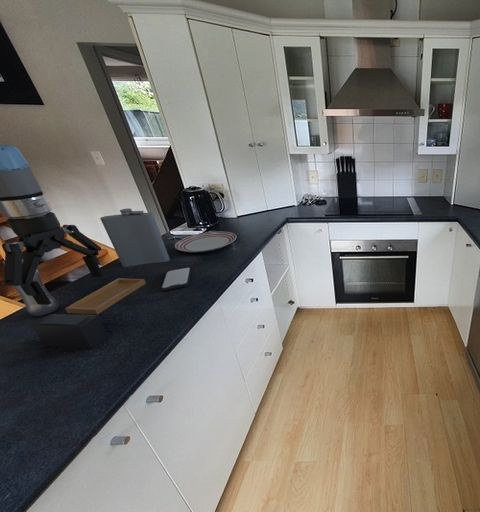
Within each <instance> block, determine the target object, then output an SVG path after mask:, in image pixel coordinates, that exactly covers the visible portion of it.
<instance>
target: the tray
mask: <svg viewBox="0 0 480 512" xmlns="http://www.w3.org/2000/svg"><path fill="white" fill-rule="evenodd" d="M146 284H147V282H146V280H145V278H125V277H123V278H122V277H119V278H116V279H114V280H113V281H111V282H109V283H107V284H105V285H104V286H102V287H101V288H98V289H97V290H95V291H93V292H91V293H90V294H88V295H86V296H84V297H83V298H81V299H79V300H77V301H75V302H73V303H72V304H70V305H68V306H66V307H65V308H64V310H65V311H66V313H67V314H76V315H100V314H101V313H103V312H104V311H106V310H107V309H108V308H110V307H112V306H113V305H115V304H116V303H118V302H120V301H121V300H123V299H124V298H126V297H127V296H129V295H130V294H132V293H133V292H135V291H136V290H139V289H140V288H142V287H143V286H144V285H146Z"/></svg>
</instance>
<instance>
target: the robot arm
mask: <svg viewBox="0 0 480 512" xmlns="http://www.w3.org/2000/svg"><path fill="white" fill-rule="evenodd" d="M0 213H1V215H2V217H4V218H7V219H6V223H7V224H8V226H9V228H10V229H11V231H12V232H13V233H14V234H15V235H16V236H17V238H18V241H14V242H4V243H3V242H2V244H1V247H2V250H3V252H4V254H5V255H4V260H5V265H4V275H3V279H4V280H3V284H4V286H8V287H13V286H19V285H20V286H21V288H22V289H23V291H24V292H25V294H26V295H28V296H33V298H34V299H35V301H36V302H37V304H38V305H49V304H51V301H50V300H49V298H48V297H47V295H46V294H45V292H44V291H43V289H42V288H41V286H40V284H39V283H38V281H33V278H34V275H35V272H36V270H38V267H39V263H40V262H41V259H42V257H44V255H45V253H50V252H52V251H53V250H57V249H61V248H62V247H64V248H66V249H68V250H71V251H73V252H76V253H78V254H81V255H83V256H82V260H83V262H84V264H85V265H86V267H87V269H88V271H89V272H90V275H91V276H92V277H93V278H103V277H104V273H103V272H102V270H101V267H100V264H101V262H100V260H99V258H98V256H99V254H100V251H102V247H101V246H100V245H98V244H97V243H96V242H94V241H93V240H92V239H90V238H89V237H88V236H87V235H85V234H84V233H82V231H80V230H79V228H78V227H77V226H76V225H75V224H63V225H62V227H61V223H60V221H59V219H58V217H57V215H56V214H55V212H52V207H51V204H50V203H49V201H48V199H47V197H46V196H45V194H44V192H43V190H42V188H41V186H40V184H39V182H38V180H37V179H36V176H35V174H34V172H33V170H32V168H31V167H30V164H29V162H28V161H27V160H26V159H25V157H24V156H23V154H22V153H21V151H20V150H19V148H17V147H15V146H14V145H11V144H0ZM65 235H68V236H69V237H71V238H72V239H73V240H75V241H76V242H73V241H72V240H71V239H67V238H65ZM77 242H78V243H79V244H78V243H77ZM24 248H25V250H24ZM23 250H24V253H23ZM23 255H24V257H23ZM22 259H23V263H22Z"/></svg>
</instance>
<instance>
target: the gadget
mask: <svg viewBox="0 0 480 512" xmlns="http://www.w3.org/2000/svg"><path fill="white" fill-rule="evenodd" d="M30 327H31V328H32V330H33V331H34V333H35V334H36V335H37V337H38V338H39V339H40V341H41V342H42V344H44V346H45V348H61V349H64V348H65V349H79V350H81V349H84V350H93V349H95V348H96V347H97V346H99V345H100V344H102V343H103V342H104V341H106V340H107V339H108V338H109V337H110V336H109V334H108V332H107V331H106V329H105V327H104V326H103V324H102V322H101V320H100V318H99V317H98V315H90V314H64V313H63V314H62V313H49V314H47V316H44V317H43V318H41V319H39V320H37V321H35V322H33V323H32V324H30Z"/></svg>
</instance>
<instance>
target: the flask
mask: <svg viewBox="0 0 480 512" xmlns="http://www.w3.org/2000/svg"><path fill="white" fill-rule="evenodd" d="M119 212H120V213H119V214H111V215H105V216H101V217H100V218H99V219H100V221H101V223H102V225H103V227H104V230H105V232H106V234H107V236H108V239H109V241H110V243H111V244H112V247H113V249H114V251H115V253H116V255H117V257H118V260H119V262H120V265H121V266H122V267H123V268H128V267H134V266H140V265H147V264H156V263H166V262H169V261H170V260H171V258H170V255H169V253H168V251H167V250H168V249H167V247H166V245H165V242H164V240H163V237H162V234H161V232H160V229H159V226H158V224H157V222H156V219H155V216H154V214H153V212H145V211H144V210H132V208H129V207H128V208H122V209H119Z"/></svg>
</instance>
